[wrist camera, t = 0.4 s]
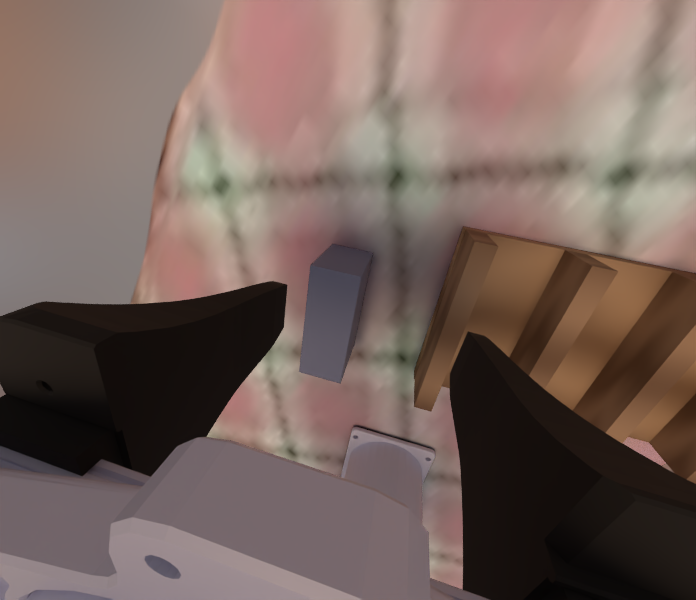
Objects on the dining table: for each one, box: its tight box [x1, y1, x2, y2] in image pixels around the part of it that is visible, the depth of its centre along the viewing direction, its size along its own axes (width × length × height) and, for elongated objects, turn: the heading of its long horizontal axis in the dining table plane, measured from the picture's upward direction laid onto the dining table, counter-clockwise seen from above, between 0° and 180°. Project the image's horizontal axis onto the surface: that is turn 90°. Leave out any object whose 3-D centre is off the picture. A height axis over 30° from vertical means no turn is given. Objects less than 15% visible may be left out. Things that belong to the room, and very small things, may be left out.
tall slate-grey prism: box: [299, 244, 373, 384], centre depth 20 cm, size 8×3×5 cm, turn 171°
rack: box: [414, 226, 696, 484], centre depth 18 cm, size 12×18×4 cm, turn 81°
